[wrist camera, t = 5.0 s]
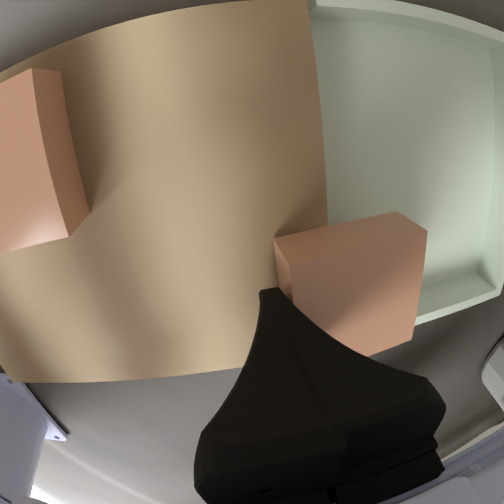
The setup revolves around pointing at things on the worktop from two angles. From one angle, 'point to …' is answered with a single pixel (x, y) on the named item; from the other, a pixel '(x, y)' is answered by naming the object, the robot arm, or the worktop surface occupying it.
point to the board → (170, 194)
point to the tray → (417, 135)
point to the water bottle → (495, 373)
